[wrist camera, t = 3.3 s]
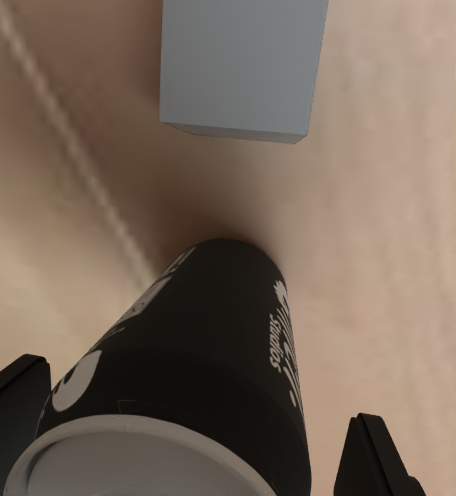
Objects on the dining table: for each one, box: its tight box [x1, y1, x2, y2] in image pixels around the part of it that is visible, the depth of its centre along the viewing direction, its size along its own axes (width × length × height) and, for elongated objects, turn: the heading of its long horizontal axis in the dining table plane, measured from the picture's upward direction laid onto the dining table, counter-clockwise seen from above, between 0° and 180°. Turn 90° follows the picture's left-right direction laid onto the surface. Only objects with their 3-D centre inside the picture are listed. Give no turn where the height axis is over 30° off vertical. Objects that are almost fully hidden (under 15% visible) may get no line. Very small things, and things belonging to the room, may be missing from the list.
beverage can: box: [3, 239, 312, 496], centre depth 11 cm, size 7×7×12 cm
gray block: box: [159, 0, 329, 144], centre depth 12 cm, size 5×5×5 cm
